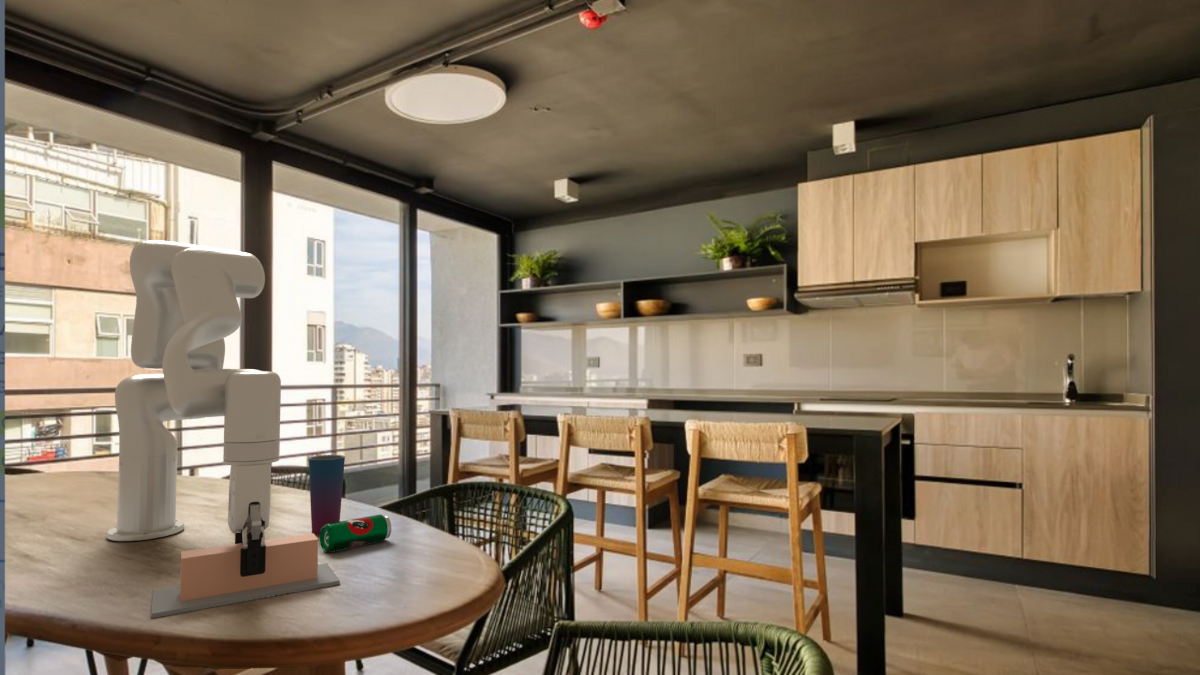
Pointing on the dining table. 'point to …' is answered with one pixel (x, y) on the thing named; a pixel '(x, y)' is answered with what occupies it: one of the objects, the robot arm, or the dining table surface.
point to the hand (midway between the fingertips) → (249, 565)
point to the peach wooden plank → (221, 567)
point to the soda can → (354, 533)
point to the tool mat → (236, 594)
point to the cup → (325, 489)
